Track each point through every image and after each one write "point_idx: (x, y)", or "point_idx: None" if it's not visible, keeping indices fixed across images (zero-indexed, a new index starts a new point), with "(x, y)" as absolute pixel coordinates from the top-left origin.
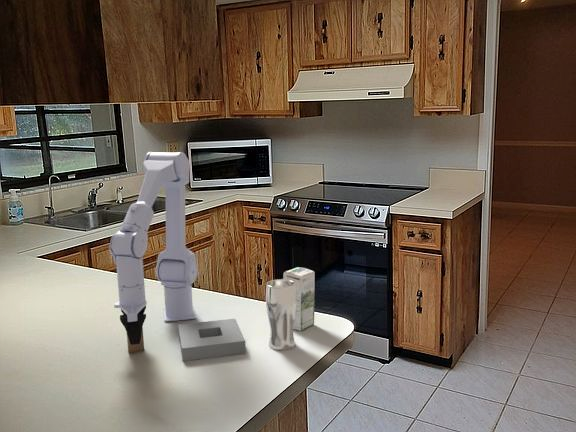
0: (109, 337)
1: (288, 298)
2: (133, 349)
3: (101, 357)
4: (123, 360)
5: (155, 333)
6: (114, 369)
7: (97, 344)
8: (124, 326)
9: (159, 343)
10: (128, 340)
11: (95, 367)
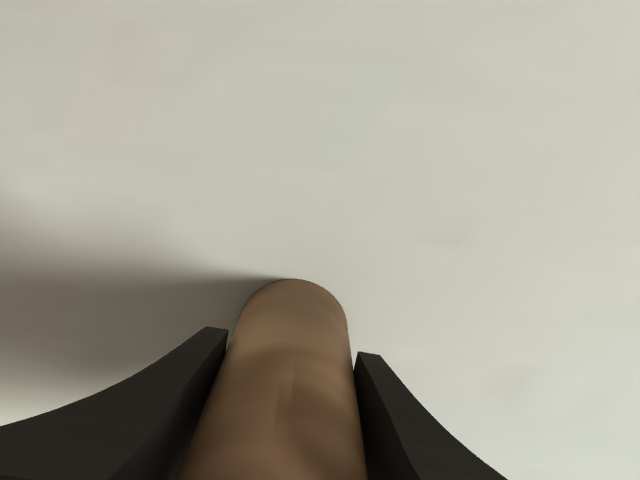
0: (632, 191)
1: None
2: (238, 320)
3: (274, 82)
4: (154, 227)
5: (499, 473)
6: (23, 148)
7: (550, 82)
8: (32, 418)
9: None
10: (255, 327)
11: (104, 12)
